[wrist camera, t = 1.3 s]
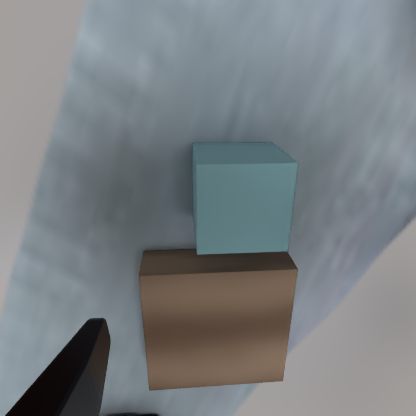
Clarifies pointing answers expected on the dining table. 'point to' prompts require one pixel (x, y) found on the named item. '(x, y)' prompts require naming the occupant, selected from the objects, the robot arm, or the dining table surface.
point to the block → (242, 197)
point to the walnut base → (216, 317)
